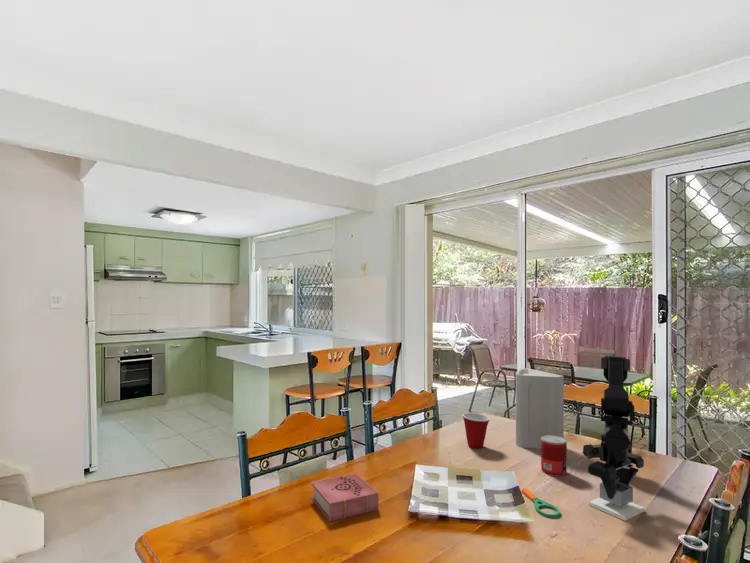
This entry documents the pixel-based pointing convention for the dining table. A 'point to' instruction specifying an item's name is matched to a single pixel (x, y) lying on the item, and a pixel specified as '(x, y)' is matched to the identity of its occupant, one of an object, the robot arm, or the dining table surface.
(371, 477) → the dining table surface
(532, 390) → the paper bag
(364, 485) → the book
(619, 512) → the post block
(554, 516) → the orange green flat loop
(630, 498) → the square hole block
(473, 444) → the plastic cup
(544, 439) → the canned food
